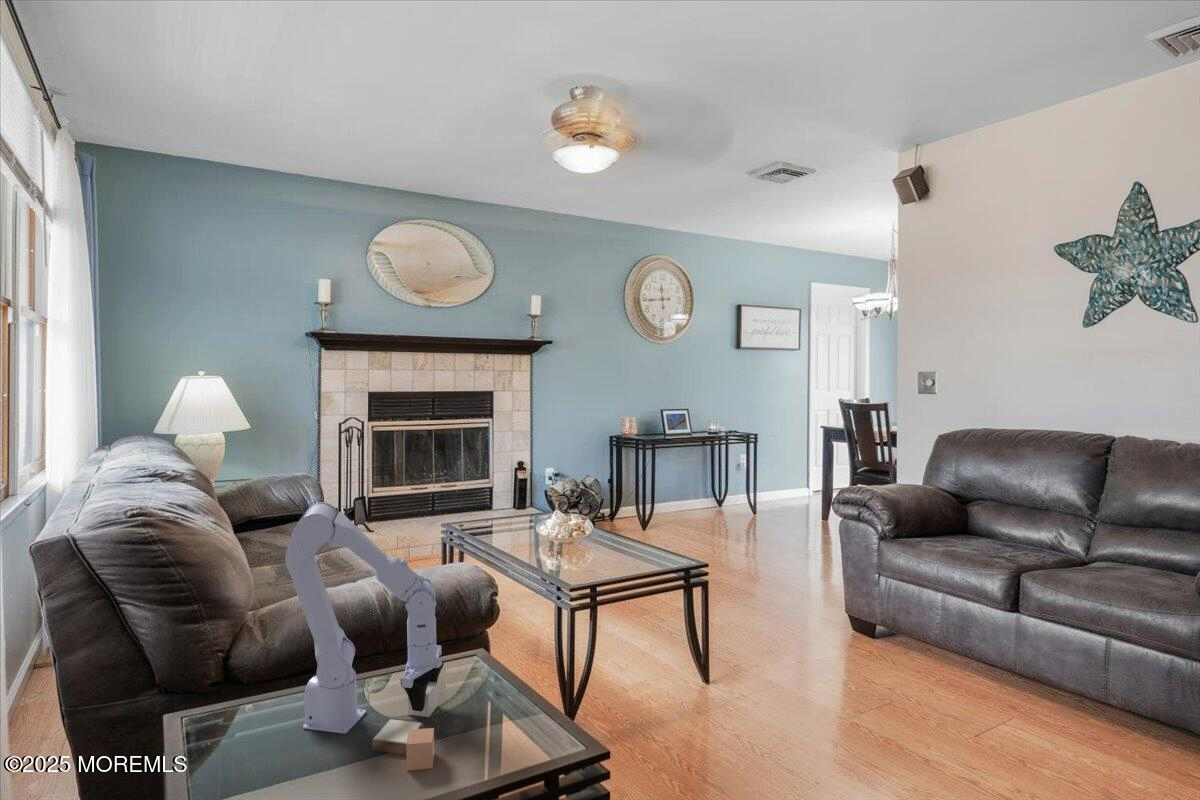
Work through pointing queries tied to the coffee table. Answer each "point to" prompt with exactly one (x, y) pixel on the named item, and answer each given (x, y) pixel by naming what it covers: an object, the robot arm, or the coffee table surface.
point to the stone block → (427, 701)
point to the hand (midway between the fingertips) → (423, 703)
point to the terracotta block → (420, 749)
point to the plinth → (394, 736)
